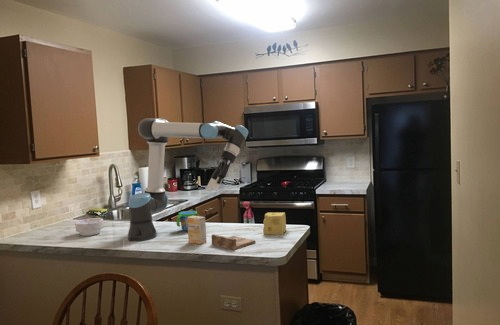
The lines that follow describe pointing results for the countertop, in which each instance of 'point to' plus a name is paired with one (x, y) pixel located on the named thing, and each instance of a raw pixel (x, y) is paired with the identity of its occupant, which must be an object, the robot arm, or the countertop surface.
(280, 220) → the cheese
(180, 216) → the snack cup
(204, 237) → the supplement box
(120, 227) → the countertop surface
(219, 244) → the mounting block
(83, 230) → the paper bowls
